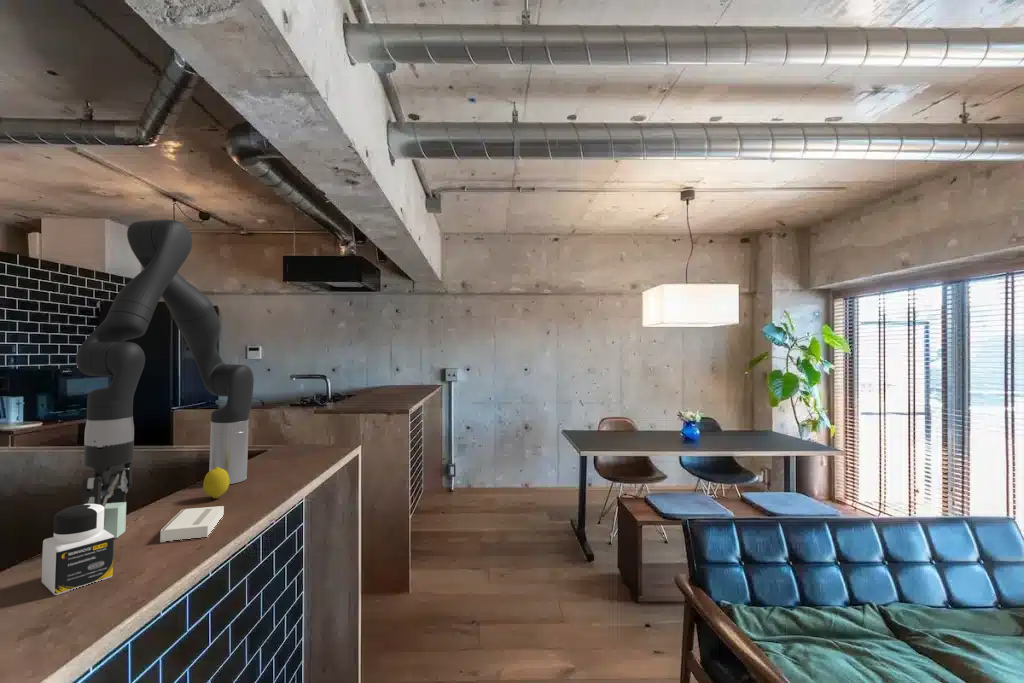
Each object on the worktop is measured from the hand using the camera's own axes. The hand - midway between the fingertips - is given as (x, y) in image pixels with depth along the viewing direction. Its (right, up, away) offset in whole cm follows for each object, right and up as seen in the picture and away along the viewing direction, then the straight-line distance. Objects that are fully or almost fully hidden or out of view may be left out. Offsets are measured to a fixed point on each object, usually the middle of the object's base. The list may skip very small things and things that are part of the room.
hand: (107, 520), depth 92 cm
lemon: (+7, -4, +23) cm, 25 cm away
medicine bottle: (+10, -4, -17) cm, 20 cm away
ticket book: (+14, -4, +5) cm, 15 cm away
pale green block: (0, -3, 0) cm, 3 cm away
